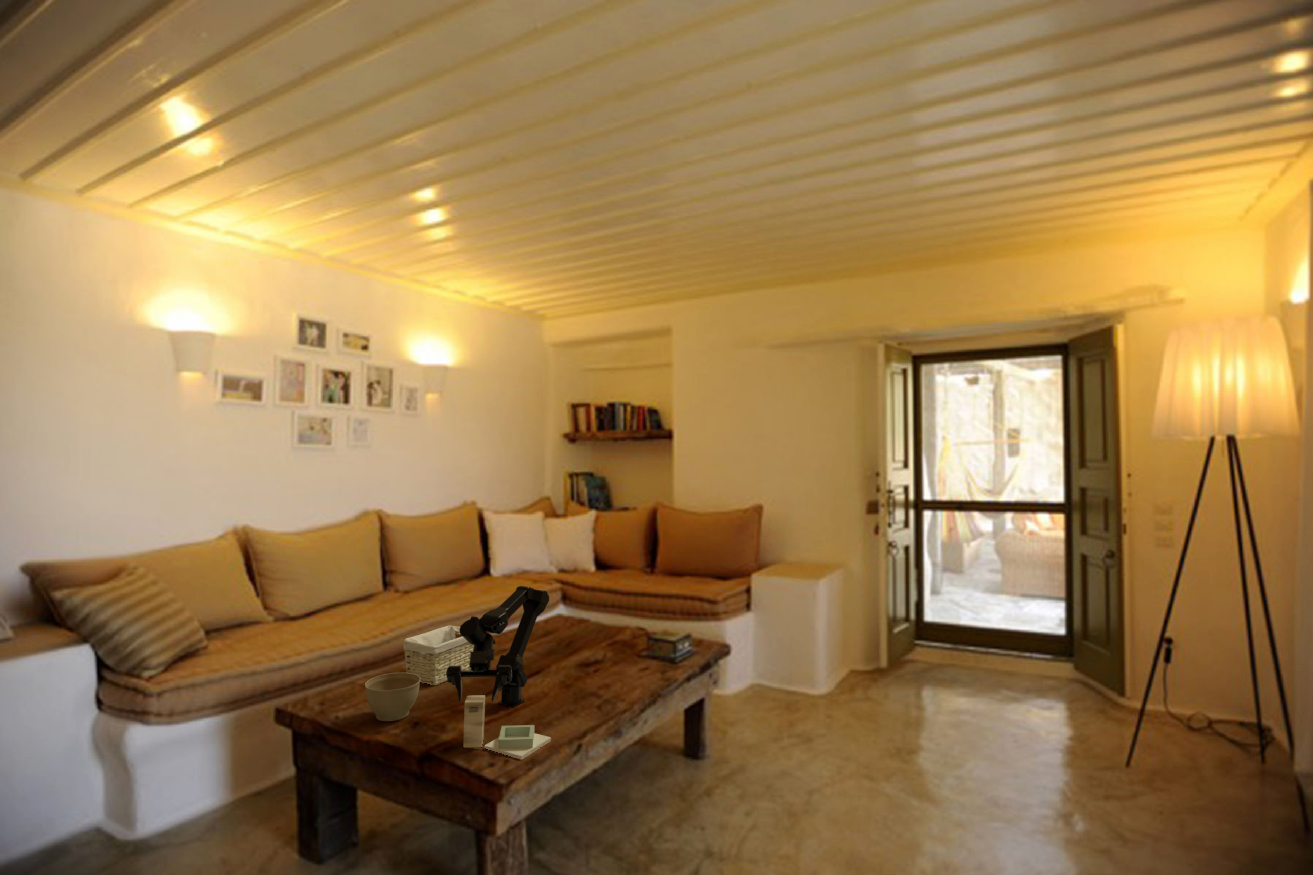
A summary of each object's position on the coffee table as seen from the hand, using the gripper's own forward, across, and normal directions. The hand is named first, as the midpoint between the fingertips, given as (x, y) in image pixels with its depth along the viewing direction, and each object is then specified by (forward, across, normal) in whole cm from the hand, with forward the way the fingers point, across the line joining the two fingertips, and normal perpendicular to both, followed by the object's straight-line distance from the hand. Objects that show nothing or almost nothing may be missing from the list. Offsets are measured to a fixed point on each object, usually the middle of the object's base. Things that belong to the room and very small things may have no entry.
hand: (476, 701), depth 196 cm
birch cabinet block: (+10, 0, +5) cm, 11 cm away
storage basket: (-32, -20, +48) cm, 61 cm away
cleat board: (+11, +12, +4) cm, 17 cm away
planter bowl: (-5, -28, +21) cm, 35 cm away
